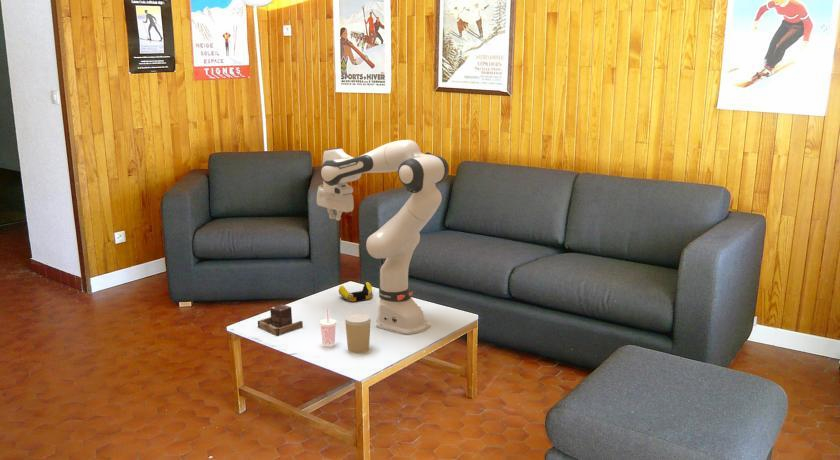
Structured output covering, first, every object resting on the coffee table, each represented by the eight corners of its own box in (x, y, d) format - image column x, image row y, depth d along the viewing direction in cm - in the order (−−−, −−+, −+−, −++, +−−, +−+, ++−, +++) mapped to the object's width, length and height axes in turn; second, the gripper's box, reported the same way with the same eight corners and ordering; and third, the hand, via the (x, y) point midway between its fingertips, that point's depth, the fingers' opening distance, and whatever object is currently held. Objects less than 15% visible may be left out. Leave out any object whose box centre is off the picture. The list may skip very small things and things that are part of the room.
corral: (302, 327, 288) (302, 321, 288) (277, 335, 280) (277, 329, 279) (283, 319, 297) (282, 313, 296) (258, 327, 289) (257, 321, 288)
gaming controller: (337, 297, 323) (344, 304, 314) (337, 285, 322) (344, 292, 313) (369, 292, 329) (377, 299, 320) (369, 280, 328) (377, 287, 319)
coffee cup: (376, 348, 268) (376, 317, 265) (358, 356, 262) (357, 324, 259) (358, 341, 274) (358, 311, 272) (340, 349, 268) (339, 318, 265)
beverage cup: (317, 344, 272) (315, 308, 269) (330, 339, 276) (329, 304, 273) (326, 349, 268) (325, 313, 264) (340, 344, 272) (339, 309, 268)
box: (292, 324, 292) (291, 306, 290) (281, 328, 287) (280, 311, 285) (282, 320, 295) (281, 303, 294) (270, 325, 291) (269, 307, 289)
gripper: (312, 184, 307) (313, 216, 311) (344, 191, 294) (345, 224, 297) (324, 182, 312) (325, 214, 315) (355, 189, 298) (356, 222, 301)
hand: (335, 219), depth 306 cm, fingers open, 2 cm apart
